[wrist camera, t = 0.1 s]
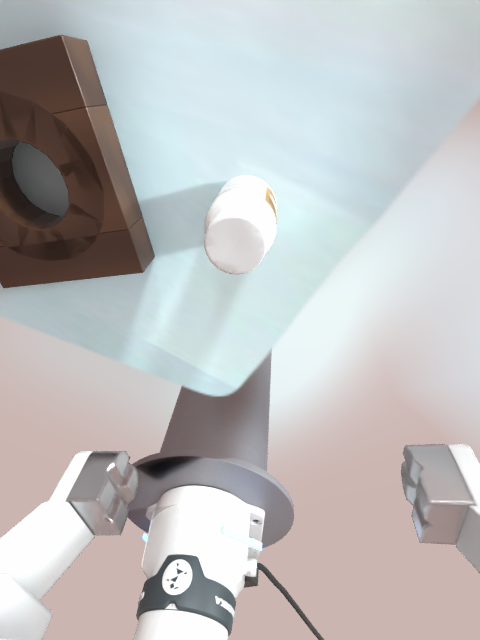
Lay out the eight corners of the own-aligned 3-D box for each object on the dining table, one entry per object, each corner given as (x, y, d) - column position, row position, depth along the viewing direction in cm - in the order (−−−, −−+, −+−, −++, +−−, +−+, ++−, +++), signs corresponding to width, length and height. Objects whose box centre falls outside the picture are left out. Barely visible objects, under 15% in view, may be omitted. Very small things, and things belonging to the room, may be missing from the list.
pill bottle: (271, 239, 27) (268, 287, 20) (214, 230, 27) (193, 276, 20) (282, 178, 24) (282, 212, 18) (219, 169, 24) (197, 199, 18)
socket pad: (155, 256, 29) (143, 273, 26) (25, 272, 31) (3, 288, 28) (87, 40, 21) (61, 34, 19) (-79, 80, 23) (-122, 79, 21)
